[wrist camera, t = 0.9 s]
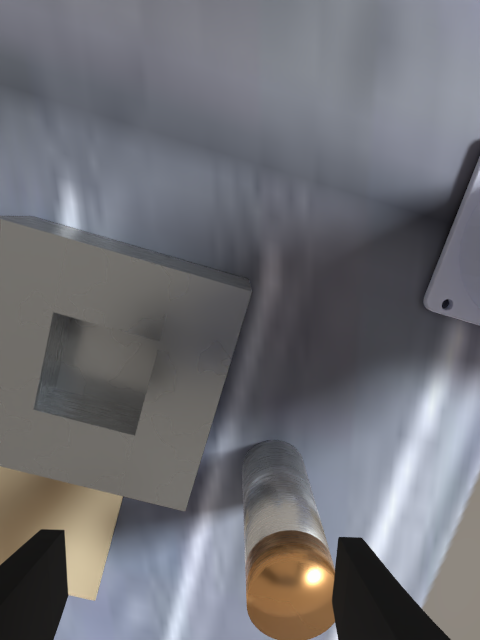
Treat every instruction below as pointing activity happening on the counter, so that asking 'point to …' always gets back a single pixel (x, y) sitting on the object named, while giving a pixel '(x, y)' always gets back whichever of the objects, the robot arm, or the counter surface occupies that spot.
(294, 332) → the counter surface
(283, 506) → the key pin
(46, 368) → the block
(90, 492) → the cork mat
